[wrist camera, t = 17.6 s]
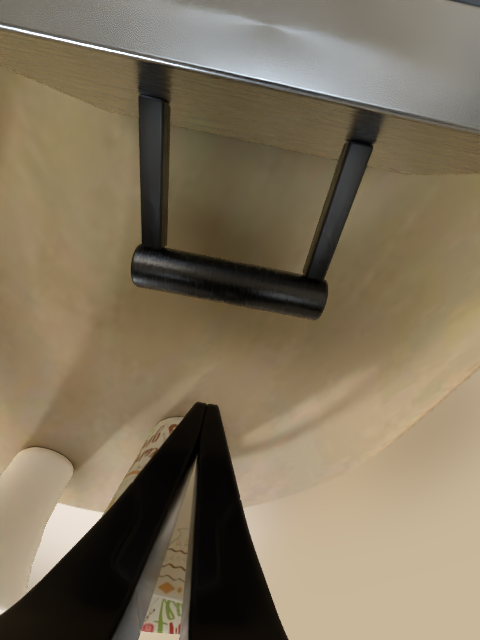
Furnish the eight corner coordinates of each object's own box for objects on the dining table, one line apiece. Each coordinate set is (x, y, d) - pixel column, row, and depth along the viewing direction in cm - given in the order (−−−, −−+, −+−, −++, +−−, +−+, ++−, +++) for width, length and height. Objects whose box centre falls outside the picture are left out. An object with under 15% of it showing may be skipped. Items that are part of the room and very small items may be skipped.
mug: (224, 403, 19) (196, 594, 10) (246, 488, 25) (240, 652, 16) (124, 408, 20) (22, 585, 11) (169, 489, 26) (125, 643, 18)
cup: (15, 477, 27) (-99, 618, 18) (-4, 426, 22) (-169, 582, 14) (97, 494, 28) (24, 637, 19) (94, 447, 23) (-3, 609, 14)
